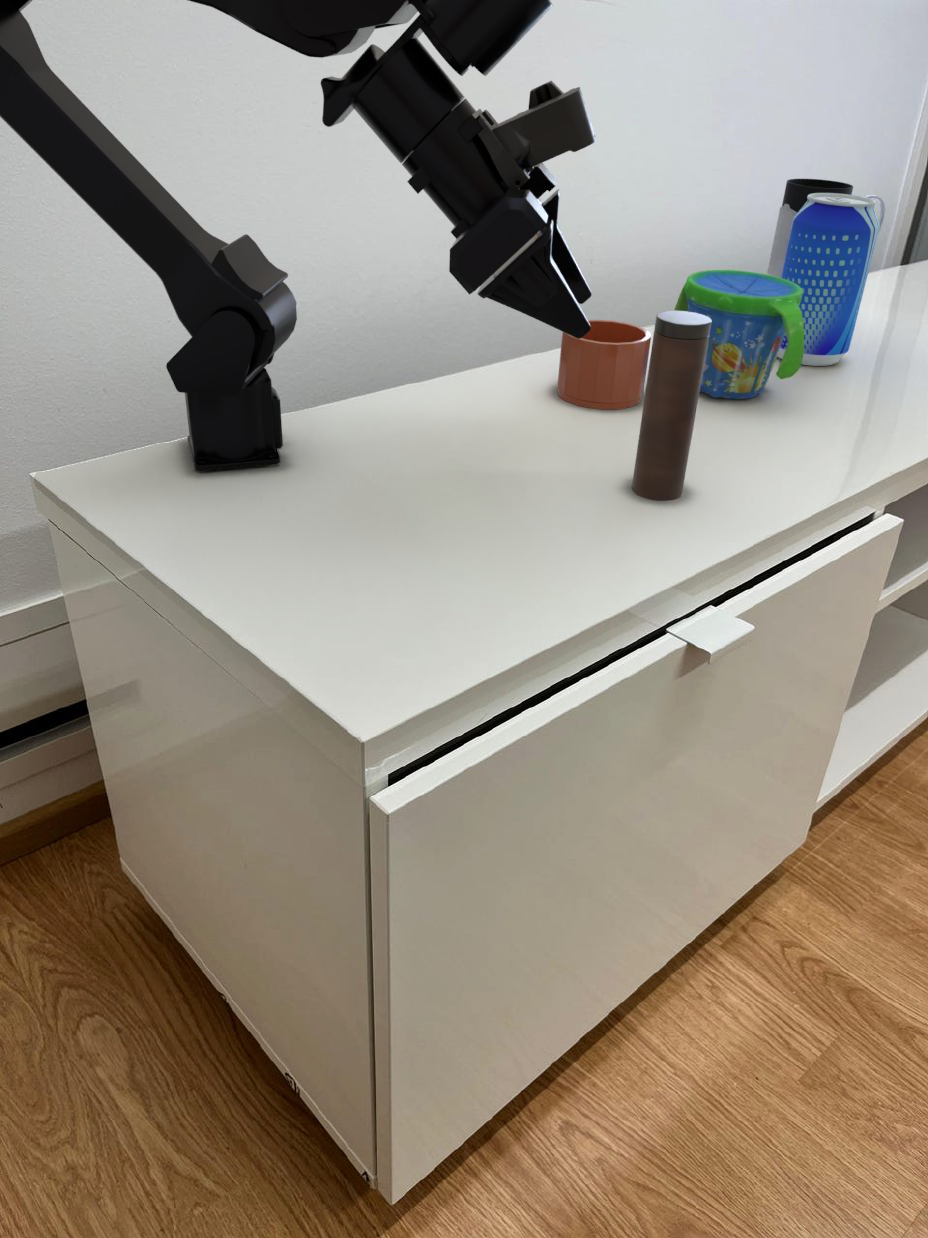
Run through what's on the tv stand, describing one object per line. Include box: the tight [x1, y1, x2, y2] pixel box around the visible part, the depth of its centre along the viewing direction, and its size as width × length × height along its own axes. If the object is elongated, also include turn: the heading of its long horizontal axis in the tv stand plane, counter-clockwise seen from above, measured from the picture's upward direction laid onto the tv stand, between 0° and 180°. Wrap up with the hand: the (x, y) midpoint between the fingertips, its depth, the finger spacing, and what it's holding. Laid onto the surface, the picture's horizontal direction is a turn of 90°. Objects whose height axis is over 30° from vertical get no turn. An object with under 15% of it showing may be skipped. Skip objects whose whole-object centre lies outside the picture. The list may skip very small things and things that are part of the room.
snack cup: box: [673, 269, 804, 400], centre depth 93 cm, size 16×10×10 cm
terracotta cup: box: [556, 319, 652, 410], centre depth 91 cm, size 8×8×6 cm
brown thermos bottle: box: [631, 310, 712, 501], centre depth 71 cm, size 4×4×13 cm
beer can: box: [777, 193, 879, 367], centre depth 102 cm, size 8×8×16 cm
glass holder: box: [766, 178, 887, 278], centre depth 119 cm, size 9×14×15 cm, turn 106°
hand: (586, 315), depth 68 cm, fingers open, 9 cm apart
